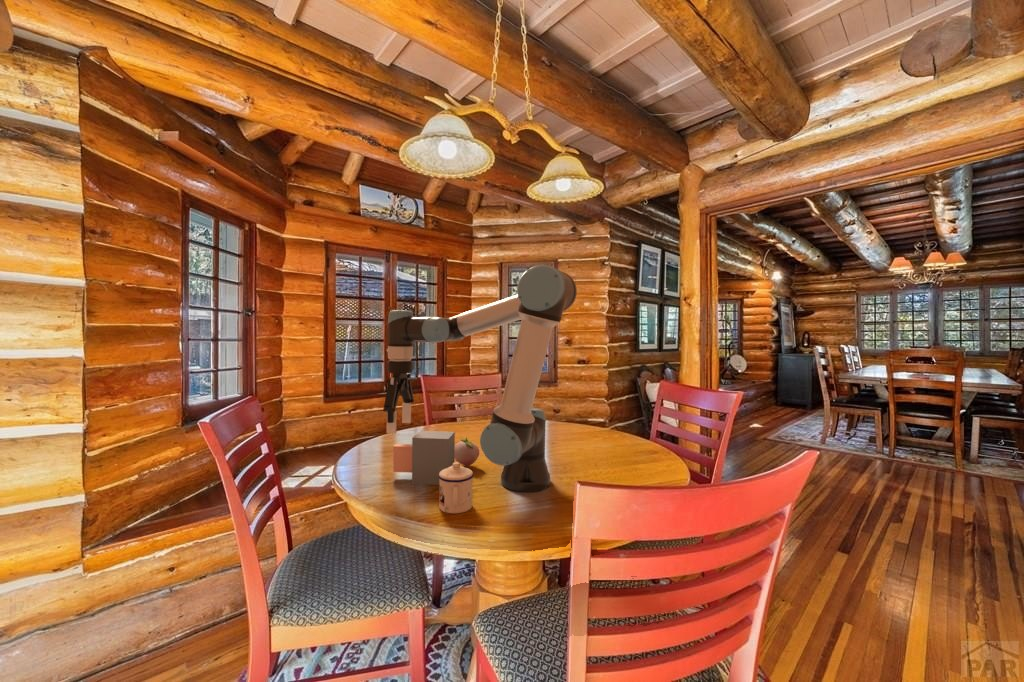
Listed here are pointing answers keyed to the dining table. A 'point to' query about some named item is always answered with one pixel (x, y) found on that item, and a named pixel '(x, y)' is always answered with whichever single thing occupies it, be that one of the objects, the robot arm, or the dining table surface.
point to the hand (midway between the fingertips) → (399, 427)
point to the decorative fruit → (466, 452)
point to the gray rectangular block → (431, 455)
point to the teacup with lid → (455, 489)
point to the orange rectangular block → (402, 458)
